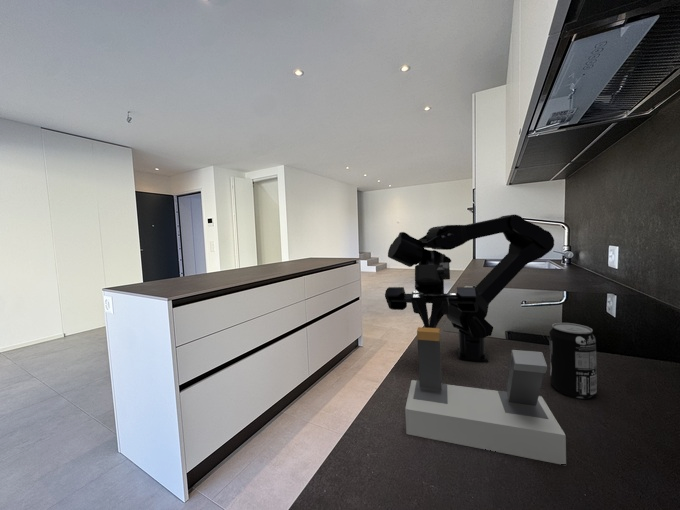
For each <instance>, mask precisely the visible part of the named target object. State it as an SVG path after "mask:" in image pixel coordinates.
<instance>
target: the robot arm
mask: <svg viewBox="0 0 680 510" xmlns="http://www.w3.org/2000/svg"><path fill="white" fill-rule="evenodd" d="M497 234H503V236H504V237H505V240H507V241H508V242H509V246H508V252H507V253H506V255H504V257H503V258H502V259H500V261H499V262H497V264H496V265H495V266H494V267H493V268H492V269H491V270H490V271H489V272H488V273H487V275H486V276H484V277H483V278H482V280H481V281H479V283H478V284H477V285H476V286H475V287H474V286H473V287H470V286H469V287H463V286H462V287H461V286H458V287H456V293H445V281H444V280H446V281H447V280H448V281H449V280H450V279H451V270H450V263H452V259H451V258H450V257H449V256H446V254H445V253H442V252H440V251H441V250H443V251H444V250H447V251H448V250H450V251H451V250H453V249H455V248H457V247H461V246H463V245H464V244H466V243H467V242H469V241H471V240H474V239H479V238H484V237H488V236H493V235H497ZM554 246H555V239H554V237H553V235H552V233H551V231H548V230H546V229H544V228H543V227H542V226H540V225H537V224H534V223H532V222H531V221H529V220H526V219H525V218H523V217H522V216H521V215H519V214H509V215H501V216H499V217H497V218H492V219H488V220H482V221H478V222H473V223H469V224H447V225H437V226H433V227H430V228H429V229H428V230H427V232H426V234H425V235H423V236H422V237H420V238H415V237H414V236H411V235H409V233H407V232H405V231H401V232H399V233H398V236H396V238H395V239H394V240H393V241H392V243H391V244H390V245H389V248H388V251H387V257H388V258H389V259H391V260H394V261H396V262H397V263H400V264H402V265H404V266H406V267H408V268H411V267H413V266H414V288H415V290H414V291H413V290H412V291H411V293H406V291H405V288H404V286H401V287H400V286H398V287H397V286H389V287H387V288H386V290H385V294H384V298H385V300H386V304H387V305H388V306H387V307H388V309H390V310H392V311H393V310H397V311H403V310H405V309H406V308H408V307H407V306H408V305H407V304H410V303H411V306H412V311H413V313H414V314H418V315H419V317H420V319H421V321H422V324H423V326H424V327H423V328H437V326H438V324H439V322H441V320H442V318H443V317H444V316H445V315H446V319H448V321H449V322H451V325H452V327H453V328H456V329H457V330H458V344H459V347H457V348H456V350H457V356H458V359H459V360H464V361H475V362H486V363H488V362H489V358H488V355H487V351H486V349H485V348H486V347H485V339H486V338H487V337H491V336H492V334H493V332H494V331H493V330H494V326H493V325H491V323H489V321H487V320H486V317H487V316H488V310H489V306H490V304H491V302H492V301H494V300H495V298H496V297H497V296H498V295H499V294H500V293H501V292H502V291H503V290H504V289H505V288H506V287H507V286H508V284H509V283H510V282H511V281H512V280H513V279H514V278H516V276H517V275H518V274H519V273H520V272H521V271H523V269H524V267H526V266H527V265H528V264H530V263H532V262H535V261H537V260H539V259H541V258H543V257H544V256H546V255H547V254H548V253H550V252H551V251H552V249H553V248H554ZM430 249H432V250H430ZM437 250H439V251H437ZM427 304H431V313H430V317H429V313H428V307H427ZM429 318H430V319H429Z"/></svg>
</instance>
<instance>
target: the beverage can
mask: <svg viewBox="0 0 680 510" xmlns="http://www.w3.org/2000/svg"><path fill="white" fill-rule="evenodd" d="M551 327H552V328H551V330H550V331H549V335H548V336H549V365H550V367H549V369H550V370H549V372H550V373H549V375H550V376H549V377H550V384H551V385H552V386H553V387H554V388H555V390H557V391H558V392H559V393H562V394H564V395H565V396H569V397H573V398H575V399H576V398H577V399H591V398H592V397H593V396H595V395H596V394H597V393H598V392H597V391H598V390H597V389H598V382H597V378H598V375H597V374H598V373H597V369H598V368H597V338H596V336H595V335H594V333H593V332H594V331H593V328H591V327H589V326H587V325H582V324H578V323H573V322H572V323H571V322H556V323H552V325H551Z"/></svg>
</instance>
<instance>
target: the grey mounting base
mask: <svg viewBox="0 0 680 510" xmlns="http://www.w3.org/2000/svg"><path fill="white" fill-rule="evenodd" d="M404 409H405V411H404V412H405V414H404V415H405V431H406V432H405V434H406V435H409V436H414V437H420V438H425V439H429V440H434V441H438V442H439V441H440V442H446V443H450V444H455V445H460V446H465V447H471V448H476V449H481V450H485V449H486V451H490V450H491V452H495V451H496V452H495V453H500V454H507V455H509V456H517V457H520V458H526V459H531V460H536V461H539V462H540V461H542V462H546V463H547V462H548V463H552V464H557V465H561V464H566V465H567V445H566V444H567V442H566V440H567V437H566V434H565V431H564V430H563V428H562V427H561V426H560V424H559V422H558V421H557V419H556V417H555V415H554V414H553V412H552V411H551V410H550V409H551V408H549V406H548V404H547V402H546V400H545V399H544V398H543V396H542V395H539V397H538V401H537V405H536V406H533V405H526V404H519V403H511V402H509V401H508V397H507V390H506V391H504V390H493V389H485V388H480V387H479V388H477V387H471V386H470V387H469V386H462V385H453V384H447V383H442V390H436V389H429V388H422V387H420V385H419V379H417V380H415V379H411V382H410V386H409V391H408V394H407V399H406V404H405V408H404Z"/></svg>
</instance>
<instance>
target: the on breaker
mask: <svg viewBox="0 0 680 510" xmlns="http://www.w3.org/2000/svg"><path fill="white" fill-rule="evenodd" d="M510 357H511V359H510V364H509V373H508V380H507V385H506V392H507V397H508V401H509V402H511V403H519V404H526V405H533V406H536V405H537V401H538V397H539V396H540V392H541V388H542V383H543V380H544V376H545V374H546V373H547V368H548V365H547V362H546V359H545V357H544V354H543V352H542V351H535V350H534V351H533V350H520V349H519V350H518V349H517V350H516V349H511V355H510Z"/></svg>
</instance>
